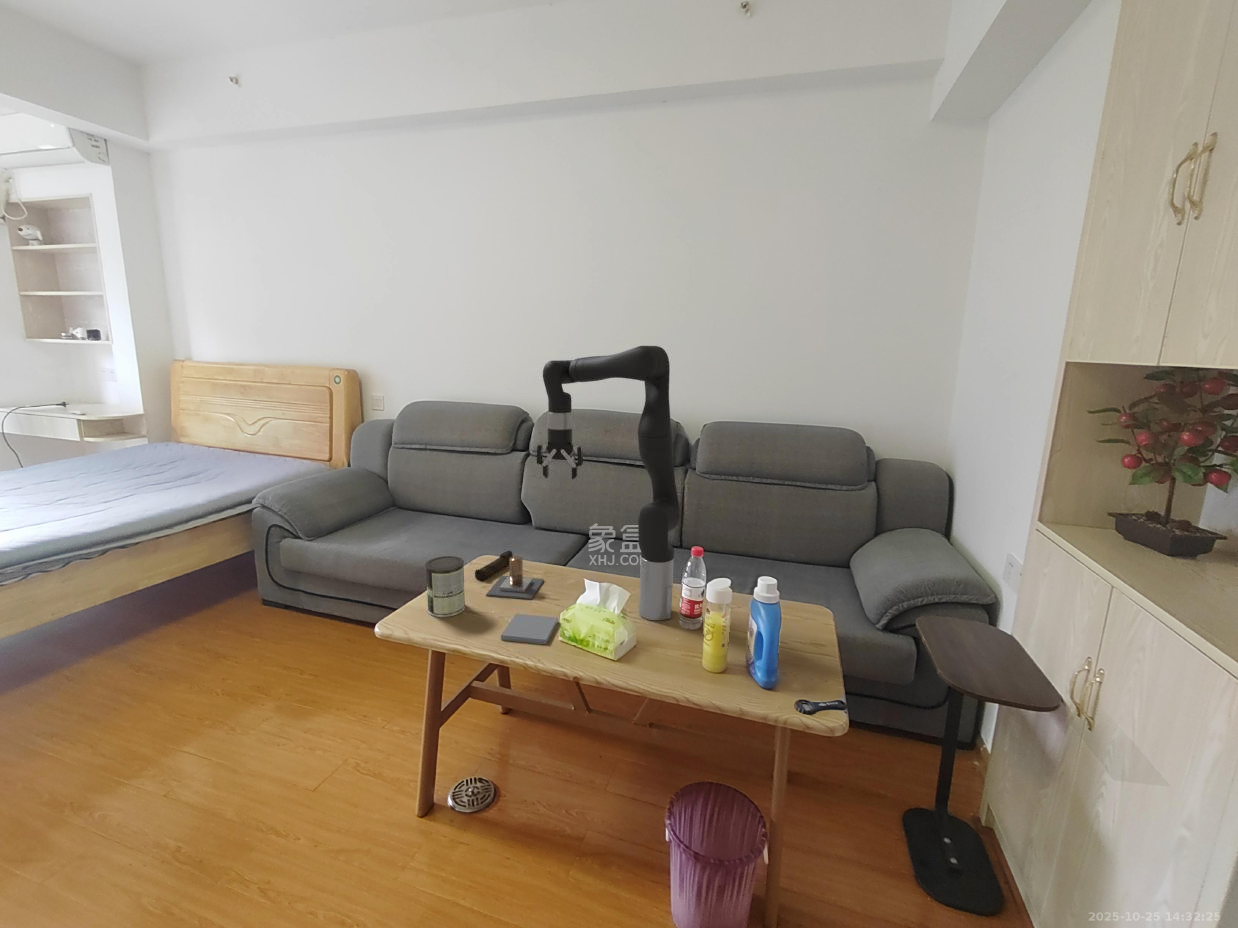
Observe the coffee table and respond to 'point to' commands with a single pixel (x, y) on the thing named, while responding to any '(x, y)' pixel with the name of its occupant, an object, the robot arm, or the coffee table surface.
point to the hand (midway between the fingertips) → (560, 478)
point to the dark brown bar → (493, 566)
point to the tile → (530, 629)
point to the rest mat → (518, 595)
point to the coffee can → (445, 586)
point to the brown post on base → (516, 577)
